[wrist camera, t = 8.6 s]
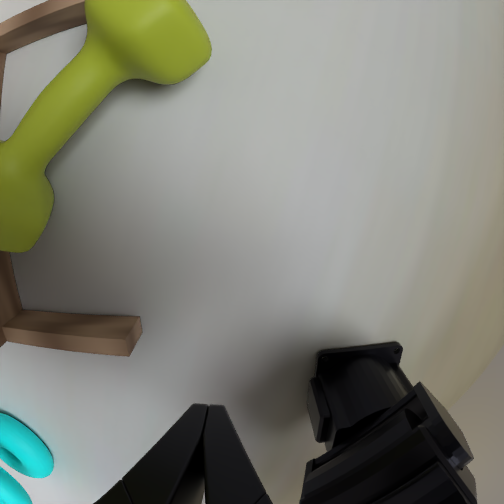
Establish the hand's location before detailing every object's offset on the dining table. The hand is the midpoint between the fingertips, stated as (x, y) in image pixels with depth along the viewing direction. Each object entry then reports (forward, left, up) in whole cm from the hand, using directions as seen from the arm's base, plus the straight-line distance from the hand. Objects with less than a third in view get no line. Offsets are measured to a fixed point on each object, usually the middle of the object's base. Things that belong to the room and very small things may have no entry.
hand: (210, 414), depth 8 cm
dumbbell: (+8, -10, -12) cm, 18 cm away
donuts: (+26, +21, -12) cm, 36 cm away
